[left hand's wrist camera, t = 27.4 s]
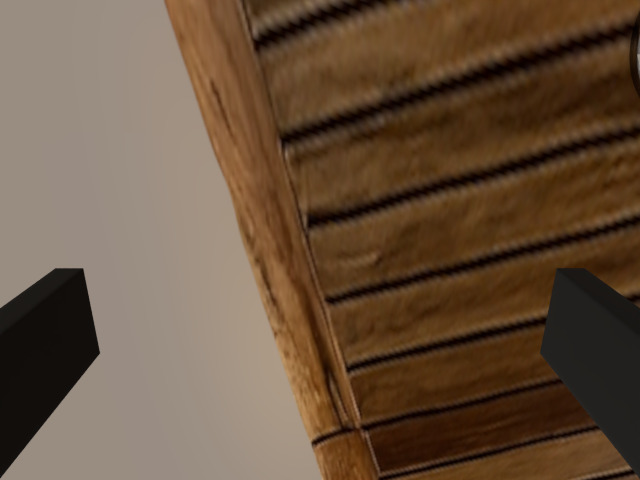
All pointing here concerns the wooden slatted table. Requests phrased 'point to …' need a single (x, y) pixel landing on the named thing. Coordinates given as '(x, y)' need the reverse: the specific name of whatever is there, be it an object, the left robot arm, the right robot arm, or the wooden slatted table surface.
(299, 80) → the wooden slatted table surface
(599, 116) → the wooden slatted table surface
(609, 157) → the wooden slatted table surface
